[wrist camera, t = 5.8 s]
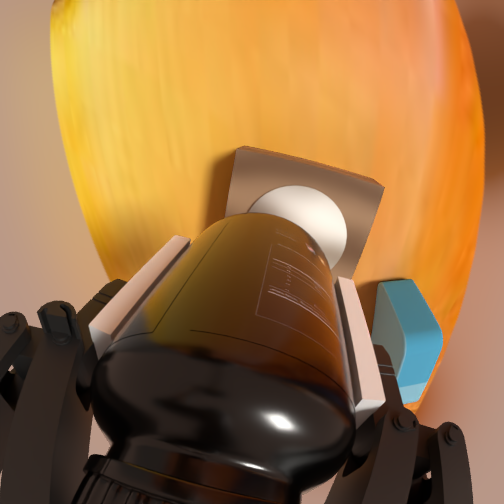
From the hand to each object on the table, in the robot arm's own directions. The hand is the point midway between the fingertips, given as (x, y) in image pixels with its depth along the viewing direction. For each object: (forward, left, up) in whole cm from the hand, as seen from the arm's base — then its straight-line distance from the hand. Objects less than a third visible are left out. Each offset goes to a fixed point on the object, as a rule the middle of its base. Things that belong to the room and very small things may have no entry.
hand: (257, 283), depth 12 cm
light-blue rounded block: (+12, +18, -18) cm, 29 cm away
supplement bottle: (0, 0, -1) cm, 1 cm away
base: (+3, +2, -18) cm, 19 cm away
